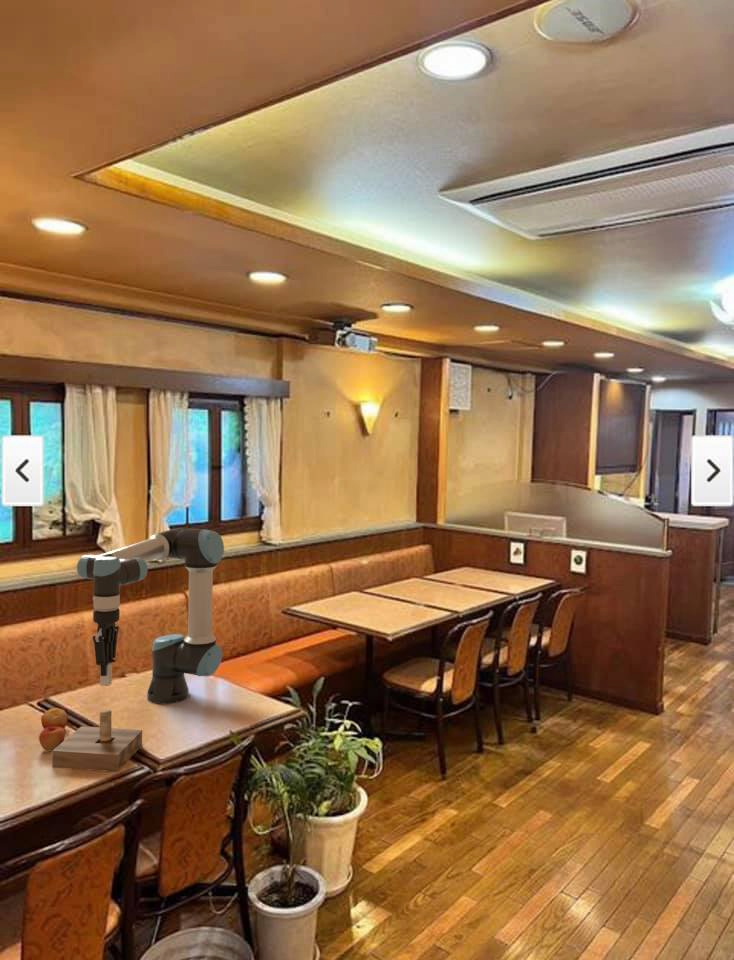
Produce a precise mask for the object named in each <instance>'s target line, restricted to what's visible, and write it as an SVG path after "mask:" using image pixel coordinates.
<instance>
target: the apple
mask: <svg viewBox="0 0 734 960" xmlns="http://www.w3.org/2000/svg"><path fill="white" fill-rule="evenodd" d="M65 738H66V732H65V728H64V729H63V728H61V727H48V725H47V728H45V729H44V728H43V730H41V731H40V733H39V738H38V740H39V743H40V746H41V748H42V749H43V750H45V751H46V752H49V751H53V750H54V749H55V748H56V747H57V746H59V745H60V744H61V743H62V742H63V741H65V740H66V739H65Z"/></svg>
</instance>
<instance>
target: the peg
mask: <svg viewBox="0 0 734 960" xmlns="http://www.w3.org/2000/svg"><path fill="white" fill-rule="evenodd" d="M112 712H113V711H112V709H102V710H100V711H99V727H100V739H99V743H101V744H110V743H111V740H112V738H111V728H112V715H113V714H112Z"/></svg>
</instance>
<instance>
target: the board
mask: <svg viewBox="0 0 734 960" xmlns="http://www.w3.org/2000/svg"><path fill="white" fill-rule="evenodd" d="M111 738H112V740H111V743H110V744H101V743H99V739H100V726H99V727H98V726H85V725H84V726H83V725H82V726H80V727H79V728H78V729H77V730H76V731H74V732H73V733H72V734H71V735H70V736H68V737H67V738H66V739H64V741H63V742H62V743H61V744H60V745H59V746H57V747H56V748H55V749H54V750H51V751H52V753H51V754H52V755H51V757H52V758H51V760H52V762H51V767H52V768H56V769H57V768H58V769H71V768H74V770H86V769H91V770H90V771H101V770H106V772H116V773H118V772H119V771H121V769H122V768H123V767H124V766H125V764H126V763H128V761H129V760H130V759H131V758H132V757H133V756H134V755H135V754H136V753H137V752H138V751H139V749H140V748H141V747H142V746H143V729H134V728H133V729H131V728H129V729H128V728H118V727H117V728H115V727H111ZM75 768H77V769H75Z"/></svg>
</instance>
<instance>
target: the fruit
mask: <svg viewBox="0 0 734 960" xmlns="http://www.w3.org/2000/svg"><path fill="white" fill-rule="evenodd" d="M68 717H69V716H68V714H67V712H66V711H65V710H64V709H62V708H58V707H52V708H50V709H48V710H46V711H45V712H44V713H43V714H42V715H41V718H40V719H41V721H40V722H41V725H42V728H43V730H44V729H45V728H47V725H48V727H61V728H63V729H64V730H65V728H66V727H67V725H68Z"/></svg>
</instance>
